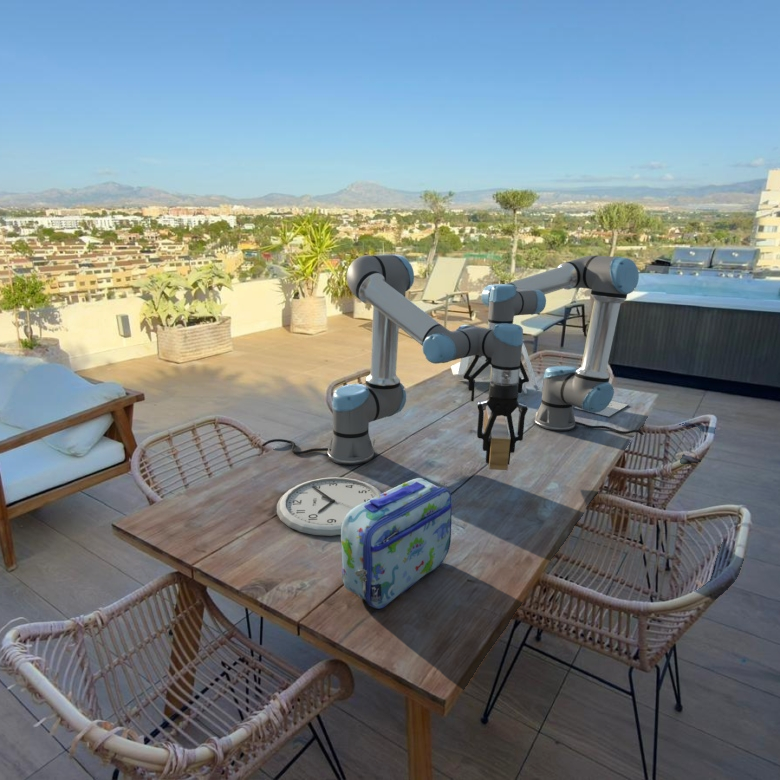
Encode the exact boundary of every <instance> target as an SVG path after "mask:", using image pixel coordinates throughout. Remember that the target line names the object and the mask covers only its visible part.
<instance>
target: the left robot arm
mask: <svg viewBox="0 0 780 780" xmlns="http://www.w3.org/2000/svg"><path fill="white" fill-rule="evenodd" d="M346 282H347V286H348V288H349V290H350V291H351V293H352V294H353V295H354V296H355V297H356V298H357V299H358V300H359V301H361V302H362V303H364V304H370V305H371V306H372V326H371V327H372V329H371V348H370V349H371V352H370V373H369V374H368V375H367V376H366V377H365V384H361V383H353V384H351V383H349V384H345V385H342V386H340V387H337V389H335V390H334V392H333V393H332V402H331V407H332V436H331V439H330V442H329V445H328V447H322V448H321V447H315V448H310V449H305V450H299V451H298V450H295V448H296V442H294V441H293V440H288V439H282V438H274V439H269V440H267V441H264V443H263V444H262V445H261V447H265V446H267V445H269V444H271V443H276V442H278V443H280V442H281V443H286V444H291V445H292V446H291V450H290V451H291V452H292V453H293V454H295V455H304V454H308V453H311V452H327V458H328V459H329V461H331V462H333V463H335V464H338V465H344V466H357V465H364V464H366V463H368V462H370V461H371V460H373V458H374V457H375V449H374V446H375V443H376V442H375V440H376V439H375V438H373V442H372V440H371V437H370V433H369V423H371V422H375V421H379V420H381V419H384V418H389V417H392V416H394V415H396V414H398V413H400V412H401V411H402V410H403V409H404V407H405V405H406V402H407V392H406V389H405V387H404V385H403V383H401V379H400V377H399V376H398V375H397V364H398V347H399V329H401V330H402V331H403V332H404V333H406V334H407V335H408V336H410V337H411V338H412V339H413V340H414V341H416V343H418V344H419V345H421V346H422V353H423V355H424V356H425V359H426V360H427V362H430V364H435V365H436V364H446V363H450V362H452V361H456V360H461V358H465V357H469V356H473V355H480V356H485V357H489V358H492V361H491V375H490V377H489V380H490V382H489V390H488V397H487V399H486V400H487V401H485V400H484V401H478V402H477V403H476V405H477V410H478V414H477V415H478V418H477V428H476V436H477V439H481V440H482V451H483V452H485V464H489V455H490V443H491V441H490V438H489V436H490V433H491V430H492V427H493V425H494V422H495V419H496V417H497V416H501V415H502V416H504V417H506V422H507V428H508V433H509V436H510V448H509V458H508V466H509V465H510V463H511V462H510V461H511V453H512V454H514V453H515V449H516V443H517V442H518V441H520V442H522V441H523V439H524V431H525V430H524V428H525V420H526V419H525V418H526V414H527V413H528V410H529V409H528V406H527V404H526V403H523V404H522V403H520V402H519V399H518V400H517V395H518V396H519V393H518V384H517V383H518V382H519V373H520V360H521V361H522V355H521V352H522V345H523V343H524V329H523V327H522V326H521V325H519V324H517V323H513V324H508V323H501V324H497V325H495V327H494V330H492V329H487V328H488V327H487V328H485V327H481V326H477V325H473V324H471V325H469V324H463V325H460V326H459V327H458V328H456V329H455V330H449V329H448V328H446V326H443V325H442V324H441V323H440V322H438V321H437V320H436V319H434V318H433V317H432V316H431V315H429V314H428V313H427V312H425V311H424V310H423V309H421V308H420V306H417V305H416V304H415V303H414V302H412V301H411V300H410V299H408V297H406V294H407V293H406V292H408V291H409V290H410V289H411V287H412V286H413V285H414V282H415V272H414V268H413V266H412V263H410V261H409V260H408V259H407V258H406V257H405V256H403V255H400V254H393V253H389V254H387V253H385V254H373V255H371V254H367V255H361V256H358V257H357V258H355V259H354V260H353V261H352V262H351V263H350V265H349V266H348V269H347V272H346ZM486 406H488V407H489V408H490V410H491V411H492V412H491V415H490V418H489V421H488V424H487V427H486V429H485V432H484V431H483V429H484V428H483V424H484V411H485V409H486ZM516 409H517V411H518V412H519V413H518V422H517V432H516V433H517V434H515V427H514V423H513V422H514V421H513V417H512V414H513V413H514V411H515V410H516Z"/></svg>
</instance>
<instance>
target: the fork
mask: <svg viewBox="0 0 780 780" xmlns="http://www.w3.org/2000/svg"><path fill="white" fill-rule="evenodd" d="M437 487H439V488H442V487H444V488H447V487H448V484H446V483H445V482H444V483H443V484H441V482H439V484H438V486H437Z"/></svg>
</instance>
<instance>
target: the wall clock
mask: <svg viewBox="0 0 780 780" xmlns="http://www.w3.org/2000/svg"><path fill="white" fill-rule="evenodd" d="M382 493H383V492H382V491H381V490H380V489H379V488H377V487H376V486H374V485H372V484H371V483H369V482H365V481H362V480H359V479H355V478H349V477H338V476H337V477H335V476H333V477H332V476H331V477H322V478H317V479H312V480H307V481H305V482H302V483H299V484H297V485H295V486H293V487H292V488H290V489H288V490H287V491H286V492H285V493H284V494H283V495H281V496H280V498H279V499H278V502H277V503H276V515H277V517H278V518H279V520H280V521H281V522H282V523H283V524H285V525H286V526H287V527H288V528H290V529H293V530H295V531H297V532H299V533H303V534H308V535H312V536H327V537H328V536H329V537H331V536H332V537H333V536H341V528H342V523H343V520H344V518H345V517H346V515H347V514H348V512H349V511H350V510H351V509H353V508H354V507H356V506H358V505H360V504H362V503H364V502H366V501H368V500H370V499H372V498H374V497H376V496H378V495H380V494H382Z"/></svg>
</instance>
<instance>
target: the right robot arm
mask: <svg viewBox="0 0 780 780" xmlns="http://www.w3.org/2000/svg"><path fill="white" fill-rule="evenodd" d="M639 277H640V272H639V267H638V266H637V264H636V262H635V261H634V260H633V259H630V258H627V257H622V256H608V255H587V256H586V255H585V256H583V257H579V258H575V259H571V260H568V261H566V262H565V261H564V262H563V263H561V264H559V265H558V266H557V267H556V268H553V269H550V270H546V271H542V272H540V273H537V274H533V275H530V276H527V277H523V278H520V279H517V280H514V281H511V282H507V283H504V284H503V283H495V284H489V285H486V286H485V287H484V288H483V290H482V291H481V302H482V304H483V306H485V307H487V308H488V315H487V316H488V318H487V329H492V330H494V327H495V325H497V324H501V323H508V324H514V318H515V316H527V315H531V316H534V315H537V314H541V313H542V312H543V311H544V310H545V308H546V305H547V297H546V295H547V294H550V293H553V292H557V291H560V290H563V289H564V290H568V291H569V290H572V289H588V290H591V291H590V296H591V298H592V299H593V303H592V310H591V314H590V319H589V325H588V330H587V335H586V339H585V345H584V349H583V355H582V358H581V359H582V360H581V364H580V367H579V368H577V367H574V366H567V365H557V366H550V367H547V368H546V369H545V370H544V375H543V378H542V379H543V381H542V392H541V402H540V405H539V407H538V410H537V411H536V413H535V417H534V424H535V425H536V426H537V427H539V428H542V429H544V430H549V431H556V432H567V431H572V430H574V429H575V428H576V425H577V426H578V425H579V426H581V427H584V428H588V429H606V430H609V431H612V432H614V433H617V434H622V435H628V434H633V433H638V434H640V435H641V436H644V435H645V434H644V432H643V431H641V430H640V429H631V430H619V429H616V428H614V427H611V426H607V425H591V424H586V423H583V422H579V421H576V418H575V417H576V416H575V413H574V407H578V408H581V409H583V410H582V411H584V410H585V411H584V412H588V411H590V412H589V413H592V412H593V414H596V413H597V412H600V411H602V410H604V409H605V408H606V407H607V406H608V405H609V404H610V402H611V401H613V398H614V394H615V389H614V386H613V385H612V384H611V383H610V378H611V376H610V374H609V373H608V371H607V370H608V365H609V360H610V355H611V350H612V346H613V341H614V336H615V332H616V326H617V321H618V317H619V313H620V307H621V305H622V303H624V302H625V301H626V300H627V299H628V298H627V297H628V295H629V294H632V293H633V292H634V291H635V289H636V288H637V286H638V283H639ZM481 357H482V356H480V355H475V356H474V358H473V360H472V361H471V363H470V365H469V366H468V368H467V369H466V371H465V373H464V375H463V377H464V379H465V380H467V381H468V386H467V389H468V391H471V393H470V401H471V402H474V401H475V390H476V389H475V388H476V387H475V386H476V380H475V379H477V378H476V377H477V376H478V375H479V374H480V373H481V372H482V371H483V370H484V369H485V368H486V367H487V366H488V365H489V364H491V361H492V358H489V357H486V360H485V361H484V362H483V363H482V364H481V365H480V366H479V367H478V368H477V369H476V370H475V371H474V372H473V373H472V374H471V375H469V374H470V372H471V371H472V369H473V367H474V366H475V364H476V363H477V361H478V359H479V358H481ZM520 370H521V374H522V377H523V378H521V377H520V376H519V382H518V383H517V384H518V395H517V400H518V401H519V394H522V392H523V389H522V385H523V383H525V384H526V383H529V382H530V378H529V376H528V374H527V371H526V369H525V367H524V364H523V362H522V359H521V360H520Z"/></svg>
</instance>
